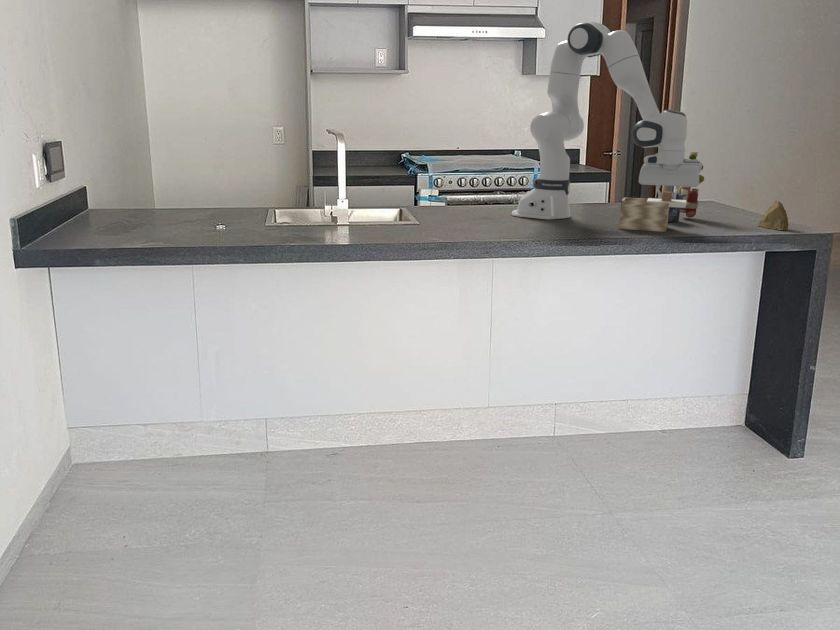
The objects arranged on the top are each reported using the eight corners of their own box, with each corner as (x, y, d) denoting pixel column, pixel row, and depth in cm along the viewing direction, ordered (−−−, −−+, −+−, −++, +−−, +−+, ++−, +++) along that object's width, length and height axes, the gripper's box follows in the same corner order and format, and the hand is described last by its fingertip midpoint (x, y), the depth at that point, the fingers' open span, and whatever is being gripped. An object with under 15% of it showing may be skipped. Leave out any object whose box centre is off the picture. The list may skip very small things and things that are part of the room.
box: (665, 223, 295) (668, 194, 292) (653, 220, 299) (656, 192, 296) (679, 221, 299) (682, 193, 296) (667, 219, 303) (670, 191, 300)
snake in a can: (670, 215, 311) (677, 150, 304) (696, 216, 310) (704, 151, 303) (675, 220, 300) (682, 153, 293) (703, 221, 299) (711, 154, 292)
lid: (646, 205, 277) (647, 192, 276) (647, 202, 285) (649, 189, 283) (685, 207, 273) (686, 194, 272) (686, 204, 280) (687, 191, 279)
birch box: (618, 228, 281) (621, 200, 279) (621, 224, 290) (624, 197, 288) (665, 231, 276) (668, 203, 274) (667, 227, 285) (670, 200, 283)
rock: (797, 225, 280) (790, 217, 289) (786, 206, 278) (778, 198, 287) (768, 242, 284) (762, 233, 293) (757, 223, 282) (750, 214, 291)
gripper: (702, 158, 274) (698, 199, 278) (641, 156, 280) (638, 196, 284) (702, 160, 268) (698, 201, 272) (639, 158, 275) (636, 198, 278)
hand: (666, 198), depth 278 cm, fingers closed on lid, 3 cm apart
